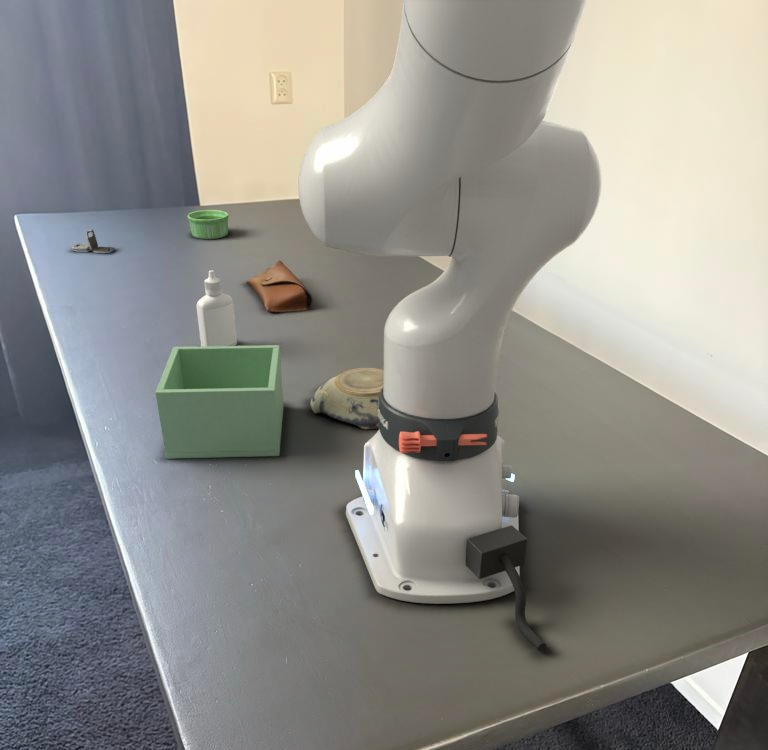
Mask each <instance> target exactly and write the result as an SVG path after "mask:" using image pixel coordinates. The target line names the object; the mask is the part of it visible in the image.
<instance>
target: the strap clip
mask: <svg viewBox="0 0 768 750" xmlns="http://www.w3.org/2000/svg"><path fill="white" fill-rule="evenodd" d="M89 233H91V236H89ZM85 238H86V242H87V243H83V242H82V243H77V244H74V245H73V246H72V247H71V251H73V252H75V253H89V252H91V251H92V252H93V253H94V254H109V253H111V252H113V251H114V250H115V247H112V246H111V247H110V246H99V243H98V240H97V236H96V234H95V230H93V228H91V229H89V230H87V231H86V232H85Z"/></svg>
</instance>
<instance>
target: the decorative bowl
mask: <svg viewBox="0 0 768 750" xmlns="http://www.w3.org/2000/svg"><path fill="white" fill-rule="evenodd" d="M383 386H384V369H381V368H375V367H355V368H351V369H348V370H345V371H342V372H341V373H339V374H338V375H336V376H334V377H332V378H330V379H328V380H326V381H325V382H324V383H322V385H320V386H319V387H318V388H317V389H316V391H315V392H314V394H313V395H312V396H311V399H310V404H309V405H310V408H311V411H312V412H313V414H314V415H317V414H324V415H326V416H328V417H330V418H332V419H334V420H338V421H340V422H344V423H347V424H351V425H354V426H357V427H358V428H360V429H362V430H376V429H379V426H378V402H379V394H380V391H381V389H382V388H383Z"/></svg>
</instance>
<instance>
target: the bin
mask: <svg viewBox="0 0 768 750" xmlns="http://www.w3.org/2000/svg"><path fill="white" fill-rule="evenodd" d="M280 349H281V346H280V345H279V344H274V345H273V344H272V345H271V344H269V345H268V344H267V345H235V346H201V345H200V346H173V347H172V350H171V352H170V355H169V356H168V358H167V362H166V365H165V367H164V369H163V373H162V375H161V377H160V380H159V382H158V385H157V387H156V389H155V392H154V393H155V400H156V407H157V413H158V418H159V424H160V429H161V430H160V431H161V435H162V441H163V442H162V443H163V448H164V453H165V458H166V459H167V460H168V459H170V460H171V459H172V460H173V459H204V458H207V459H211V458H214V459H215V458H251V457H252V458H253V457H254V458H255V457H279V456H280V452H281V440H282V439H281V438H282V427H283V417H284V393H283V391H284V390H283V378H282V375H283V374H282V362H281V350H280Z"/></svg>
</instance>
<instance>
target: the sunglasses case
mask: <svg viewBox="0 0 768 750" xmlns="http://www.w3.org/2000/svg"><path fill="white" fill-rule="evenodd" d="M245 284H247V285H248V286H249V287H250V288H251V289H252V290H253V291H254V292H255V294H256V295H257V297H258V298H259V299H260V301H261V303H262V304H263V307H264V308H265V311H266V312H271V313H293V312H304V311H307V310H309V309H310V308H311V307H312V306H313V302H314V301H313V297H312V294H311V292H310V291H309V290H308V289H307V288H306V287H305V285H304V284H303V283H302V281H301V280H300V279H299V278H298V277H297V276H296V274H294V272H292V271H291V270H290V269H289V268H288V267H287V265H285V264H284V262H283V261H282V260H280V259H278V261H276V262H275V263H274V264H273V265H272V266H271V267H269V268H267V269H265V270H264V271H262V272H260V273H258V274H257V275H255V276H253V277H251V278H250V279H248V280H246V282H245Z"/></svg>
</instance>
